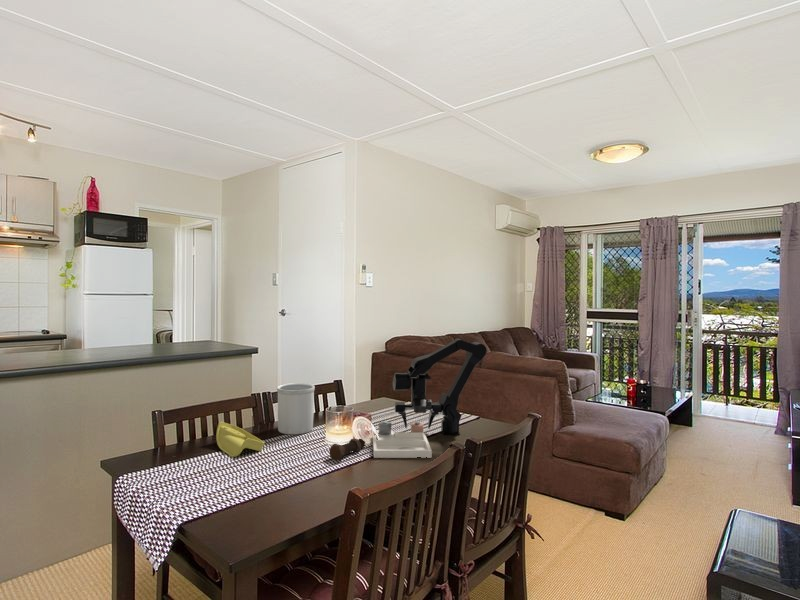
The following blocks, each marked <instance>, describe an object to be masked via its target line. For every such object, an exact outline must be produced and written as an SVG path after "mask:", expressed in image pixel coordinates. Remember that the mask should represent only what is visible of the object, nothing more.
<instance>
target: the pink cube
mask: <svg viewBox="0 0 800 600" xmlns="http://www.w3.org/2000/svg"><path fill="white" fill-rule="evenodd" d="M424 426H425V425H424V423H422V422H419V421H416V422H411V424H410V432H424V428H425V427H424Z"/></svg>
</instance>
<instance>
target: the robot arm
mask: <svg viewBox="0 0 800 600" xmlns="http://www.w3.org/2000/svg"><path fill="white" fill-rule="evenodd" d="M460 350H462V351H465V358H464V362H463V364H462V366H461V367H460V370H459V371H458V373H457V375H456V377H455V379H454V380H453V383H452V384H451V386H450V388H449V389H448V391H447V392H445V393H444V392H441V394H440V398H439V399H437V402H435V401H434V402H433V401H432V399H427V398H426V395H427V394H426V393H427V380H432V377H431V376H430V375H429V373H428V372H429V370H431V369H432V368H433V367H434V366H435V365H436V364H437V363H438V362H440V361H441V360H443V359H445V358H447V357H449V356H451V355H452V354H454V353H456V352H458V351H460ZM487 353H488V350H487V347H486V345H484V344H482V343H480V342H477V341H473V342H468V341H466V340H463V339H460V338H455V339H453V340H452V341H451V342H449V343H447V344H445V345H443V346H442V347H439V348H438V349H436V350H434V351H433V352H430V353H429V354H425V355H421V356H417V357H415V358H413V359H412V360H411V363H410V366H409V367H408V368H407V370H406V371H405V372H395V373H394V375H393V379H392V390H393V391H409V389H411V395H410V398H411V399H410V400H411V401H410V403H411V404H406V403H405V401H395V402H394V405H393V406H394V407H393V408H394V412H396V413H398V415H400V416H401V417H402V420H403V423H404V424H403V425H404V427H405V430H406V429H408V423H407V412H406V410H413V412H414V413H416V414H418V413H419V414H421V413H422V414H425V413H426V414H427V411H429V413H428V422H427V425H428V426H427V429H429V430H430V429H431V426H432V423H433V421H434V419H435V417H436V416H437V415H439V414H440V413H441V414H442V419H441V422H440V423H441V425H440V427H441V428H440V430H441V432H442V433H443V434H444V435H453V436H455V435H460V434H461V433H460V420H461V419H462V414H461V413H460V412H459V411H458V410H457V409H458V406H459V399H460V395H461V394H462V391H463V389H464V388H465V386H466V384H467V382H468V380H469V378H470V376H471V374H473V371H474V369H475V367H476V366H477V365H478V364H479V363H481V361H482V360H483V359H484V357H486V355H487Z"/></svg>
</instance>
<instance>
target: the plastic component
mask: <svg viewBox="0 0 800 600" xmlns="http://www.w3.org/2000/svg"><path fill="white" fill-rule="evenodd" d="M215 439H216V444H217V446H218V448H219V449H220V450H221V451H222V452H224V453H226V454H227V455H228V456H230V457H232V458H236V457H239V455H240V454H241V453H242V451H243V450H244V449H250V450H253V451H258V452H261V451H262V449H263V447H264V446H265V441H263V440H261V439H260V438H258V437H257V436H255V435H254V434H252V433H250V432H249V431H246V430H245V429H244V428H241V427H239V426H237V425H233V424H231V423H227V422H224V421H220V422H218V424H217V428H216V436H215Z"/></svg>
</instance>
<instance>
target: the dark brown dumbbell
mask: <svg viewBox="0 0 800 600" xmlns="http://www.w3.org/2000/svg"><path fill="white" fill-rule="evenodd" d="M365 446H366V441H365V440H364V439H362V438H351V439H350V440H349V441H348V442H347V443H345V444H342V445H341V444H338V443H332V445H331V446H330V447H329V451H328V452H329V456H330V458H331V459H332V460H333V459H335V460H334V461H337V460H339V461H341V460H343V457H344V455H347V454H349V453H355V452H356V453H359V452H358V451H361V449H363V448H364V447H365ZM352 451H354V452H352Z"/></svg>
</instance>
